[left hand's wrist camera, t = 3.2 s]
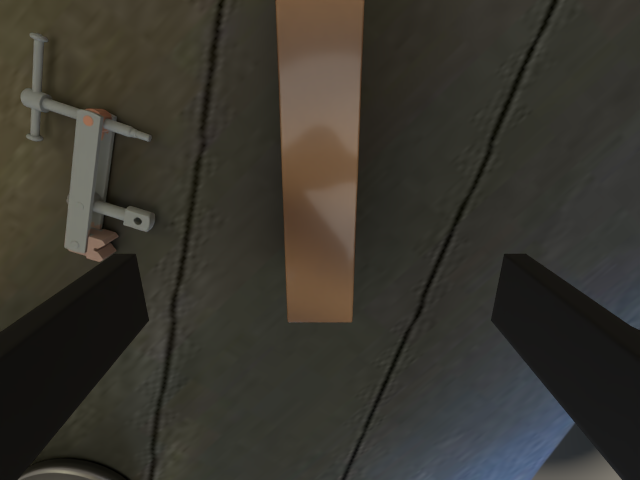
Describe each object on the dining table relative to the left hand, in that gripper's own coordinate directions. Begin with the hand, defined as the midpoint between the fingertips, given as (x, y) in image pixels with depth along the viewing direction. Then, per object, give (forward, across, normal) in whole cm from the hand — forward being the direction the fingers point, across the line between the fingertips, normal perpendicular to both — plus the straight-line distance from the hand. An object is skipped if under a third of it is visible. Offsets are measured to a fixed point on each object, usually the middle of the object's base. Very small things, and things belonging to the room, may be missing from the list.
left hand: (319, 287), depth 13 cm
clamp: (+17, +17, -2) cm, 24 cm away
